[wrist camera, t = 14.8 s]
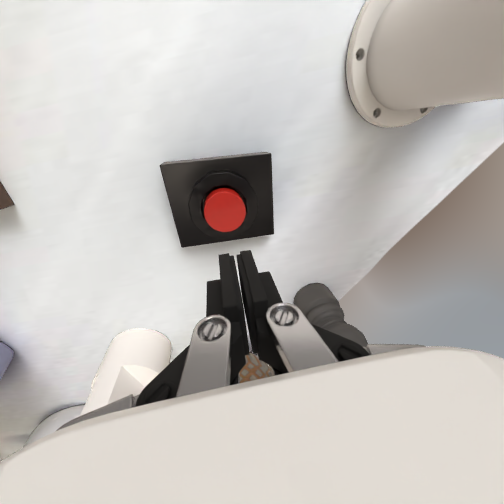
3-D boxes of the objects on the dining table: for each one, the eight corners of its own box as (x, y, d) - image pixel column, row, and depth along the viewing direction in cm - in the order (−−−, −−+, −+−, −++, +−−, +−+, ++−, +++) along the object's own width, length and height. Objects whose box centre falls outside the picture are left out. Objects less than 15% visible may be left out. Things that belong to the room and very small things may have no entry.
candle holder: (289, 313, 36) (407, 576, 15) (298, 282, 34) (458, 553, 12) (323, 312, 38) (476, 554, 16) (334, 283, 35) (538, 527, 13)
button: (241, 185, 22) (243, 189, 20) (245, 223, 24) (247, 229, 22) (200, 190, 21) (200, 194, 20) (208, 228, 23) (208, 234, 22)
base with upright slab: (96, 340, 32) (43, 439, 22) (153, 320, 32) (127, 408, 22) (131, 373, 37) (100, 468, 26) (181, 355, 37) (170, 442, 26)
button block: (266, 151, 24) (275, 154, 21) (269, 227, 28) (278, 240, 25) (163, 162, 23) (155, 167, 19) (183, 239, 27) (179, 255, 24)
